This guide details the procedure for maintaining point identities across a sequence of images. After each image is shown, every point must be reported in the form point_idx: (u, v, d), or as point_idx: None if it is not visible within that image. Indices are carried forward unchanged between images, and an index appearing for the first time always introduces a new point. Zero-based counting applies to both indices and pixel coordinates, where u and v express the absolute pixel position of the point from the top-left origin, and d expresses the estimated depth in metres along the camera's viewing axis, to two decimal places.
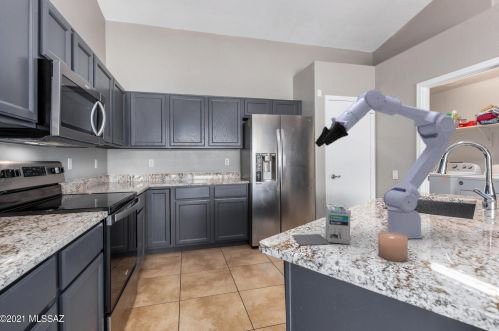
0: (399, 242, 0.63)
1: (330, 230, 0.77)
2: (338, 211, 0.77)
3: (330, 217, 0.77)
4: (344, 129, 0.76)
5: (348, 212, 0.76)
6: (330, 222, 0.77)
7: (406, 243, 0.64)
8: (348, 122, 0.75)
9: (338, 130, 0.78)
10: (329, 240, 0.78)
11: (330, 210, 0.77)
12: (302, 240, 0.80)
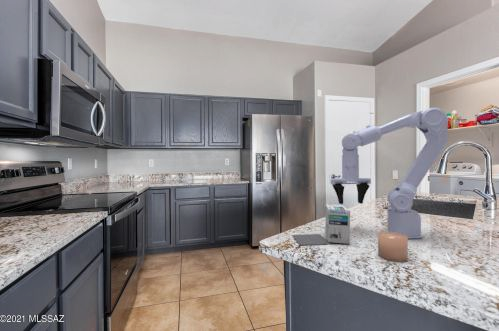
0: (399, 242, 0.63)
1: (330, 230, 0.77)
2: (338, 211, 0.77)
3: (330, 217, 0.77)
4: (335, 185, 0.89)
5: (348, 212, 0.76)
6: (330, 222, 0.77)
7: (406, 243, 0.64)
8: None
9: None
10: (329, 240, 0.78)
11: (330, 210, 0.77)
12: (302, 240, 0.80)
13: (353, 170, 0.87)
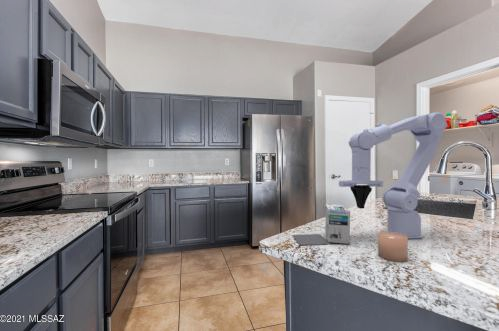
0: (399, 242, 0.63)
1: (330, 230, 0.77)
2: (338, 211, 0.77)
3: (330, 217, 0.77)
4: (353, 188, 0.82)
5: (348, 212, 0.76)
6: (330, 222, 0.77)
7: (406, 243, 0.64)
8: (339, 182, 0.82)
9: None
10: (329, 240, 0.78)
11: (330, 210, 0.78)
12: (302, 240, 0.80)
13: (364, 171, 0.79)
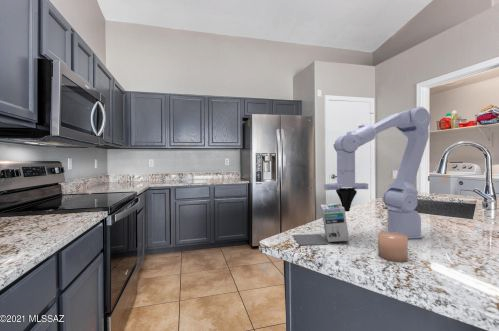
0: (399, 242, 0.63)
1: (328, 229, 0.78)
2: (332, 209, 0.78)
3: (325, 217, 0.78)
4: (339, 191, 0.81)
5: (342, 209, 0.77)
6: (326, 222, 0.78)
7: (406, 243, 0.64)
8: (324, 185, 0.82)
9: None
10: (328, 240, 0.78)
11: (324, 210, 0.78)
12: (302, 240, 0.80)
13: (349, 174, 0.79)
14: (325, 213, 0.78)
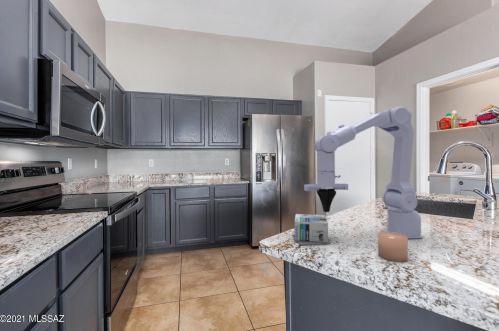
0: (399, 242, 0.63)
1: (315, 240, 0.78)
2: (295, 232, 0.80)
3: (302, 239, 0.79)
4: (318, 191, 0.81)
5: (296, 223, 0.80)
6: (307, 240, 0.79)
7: (406, 243, 0.64)
8: (304, 186, 0.82)
9: None
10: (326, 241, 0.78)
11: (295, 239, 0.80)
12: None
13: (328, 175, 0.78)
14: (298, 239, 0.80)
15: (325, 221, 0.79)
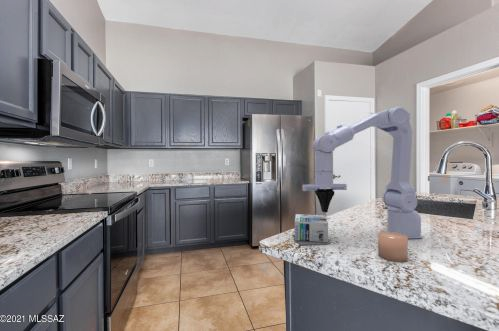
0: (399, 242, 0.63)
1: (315, 240, 0.78)
2: (295, 232, 0.80)
3: (302, 239, 0.79)
4: (317, 191, 0.81)
5: (296, 223, 0.80)
6: (307, 239, 0.79)
7: (406, 243, 0.64)
8: (302, 186, 0.81)
9: None
10: (326, 241, 0.78)
11: (295, 239, 0.80)
12: None
13: (326, 175, 0.78)
14: (298, 239, 0.80)
15: (325, 221, 0.79)
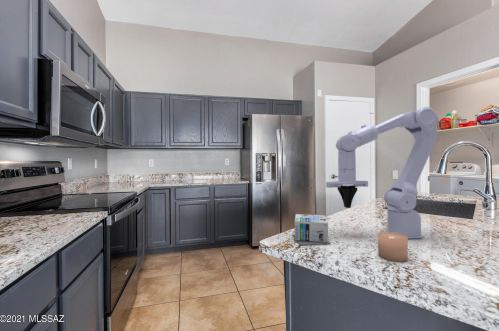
0: (399, 242, 0.63)
1: (315, 240, 0.78)
2: (295, 232, 0.80)
3: (302, 239, 0.79)
4: (340, 188, 0.85)
5: (296, 223, 0.80)
6: (307, 239, 0.79)
7: (406, 243, 0.64)
8: (326, 183, 0.85)
9: None
10: (326, 241, 0.78)
11: (295, 239, 0.80)
12: None
13: (350, 172, 0.82)
14: (298, 239, 0.80)
15: (325, 221, 0.79)
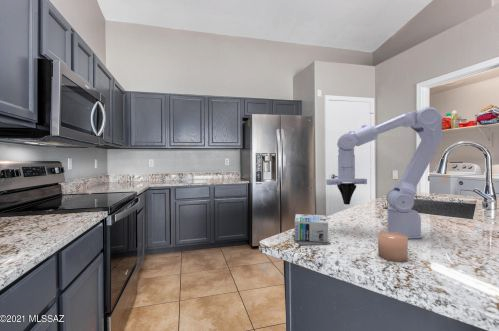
0: (399, 242, 0.63)
1: (315, 240, 0.78)
2: (295, 232, 0.80)
3: (302, 239, 0.79)
4: (340, 185, 0.88)
5: (296, 223, 0.80)
6: (307, 239, 0.79)
7: (406, 243, 0.64)
8: (326, 180, 0.89)
9: None
10: (326, 241, 0.78)
11: (295, 239, 0.80)
12: None
13: (349, 170, 0.86)
14: (298, 239, 0.80)
15: (325, 221, 0.79)
